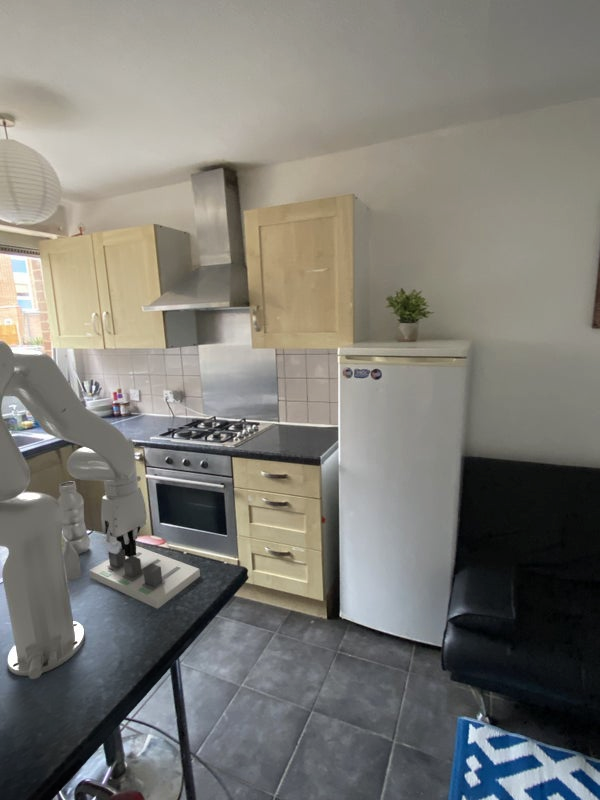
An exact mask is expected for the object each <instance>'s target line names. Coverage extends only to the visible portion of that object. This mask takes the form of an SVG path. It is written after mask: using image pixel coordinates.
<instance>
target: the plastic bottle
mask: <svg viewBox="0 0 600 800" xmlns="http://www.w3.org/2000/svg"><path fill="white" fill-rule="evenodd" d="M59 493H60V495H59V497H58V498H57V499H56V500H57V501H58V502H59V503H60V504H61V506H62V509H63V527H62V534H63V535H64V537H65V538H66V539H67V540H68V541H69V542H70V543H71V545H72V546H73V548H74V549H75V551H76V552H77V553H78V556H80V555H82V554H84V553H85V552H87V551H88V549H89V548H90V545H91V540H90V537H89V534H88V531H87V527H86V524H85V514H84V504H85V503H84V498H83V496H82V494H80V493H79V492H78V491H77V486H76V482H75V481H71V480H70V481H65V482H62V483H60V484H59Z"/></svg>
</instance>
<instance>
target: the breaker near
mask: <svg viewBox="0 0 600 800" xmlns="http://www.w3.org/2000/svg"><path fill="white" fill-rule="evenodd" d="M143 572H144V580H145V583H144V584H143V585H142V586H144V587H146V588H148V589H151V590H154V589H156V588H157V587H158V586H160V585H161V584H163V583H164V582H165V580H162V574H161V567H160V566H157V565H155V564H150V565H148V566H147V567H145V568H144V569H143Z"/></svg>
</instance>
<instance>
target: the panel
mask: <svg viewBox="0 0 600 800" xmlns="http://www.w3.org/2000/svg"><path fill="white" fill-rule="evenodd" d="M125 557H126V559H127V558H129V557H127V556H125ZM134 557H137V558H139V559H140V562H141V570H142V571H143V569H144V568H145V567H147V566H148V565H150V564H155V565H157V566H160V567H161V574H162V580H165V582H164V583H163V584H161V585H160V586H158V587H157V588H156V589H154V590H151V589H148V588H146V587H144V586H142V585H143V584H144V583H145V580H144V574H143V575H141V576H140V577H138V578H137V579H135V580H134V581H130V580H128V579H125V578H123V577H122V576H123V575H125V571H124V567H122V568H121V569H119V570H117V571H115V570H113V569H111V568H108V567H107V566H108V565H110V562H109V558H108V559H107V560H105V561H103V562H101V563H99V564H98V565H96V566H95V567H93V568H91V569H89V578H91V579H92V580H95V581H97V582H99V583H101V584H102V585H105V586H107V587H110V588H111V589H114V590H117V591H118V592H120V593H123V594H124V595H127V596H129V597H131V598H134V599H136V600H138V601H140V602H142V603H144V604H146V605H149V606H151V607H153V608H155V609H157V610H158V609H159V608H161V607H163V605H164V604H166V603H167V602H169V600H171V599H172V598H174V597H175V596H176V595H178V594H179V593H181V592H182V591H183V590H185V589H186V588H187V587H188V586H189V585H190V584H192V583H194V581H196V580H197V579H198V578H199V577H201V572H200V568H198V567H195V566H193V565H190V564H187V563H184V562H182V561H179V560H176V559H174V558H172V557H171V558H170V557H168V556H165V555H163V554H160V553H158V552H157V553H156V552H154V551H153V550H152V551H151V550H149V549H146V548H143V547H141V546H138V545H136V555H135V556H134Z"/></svg>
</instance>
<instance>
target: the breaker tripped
mask: <svg viewBox="0 0 600 800" xmlns="http://www.w3.org/2000/svg"><path fill="white" fill-rule="evenodd" d="M108 559H109V562H110V565H108V566H107V567H108V568H111V569H113V570H115V571H117V570H119V569H121V568H122V567H124V563H123V561H124V560H125V559H126V557H125V550H124V549H122V547H119V546H115V547H113V548H111V549H110V550H108Z"/></svg>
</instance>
